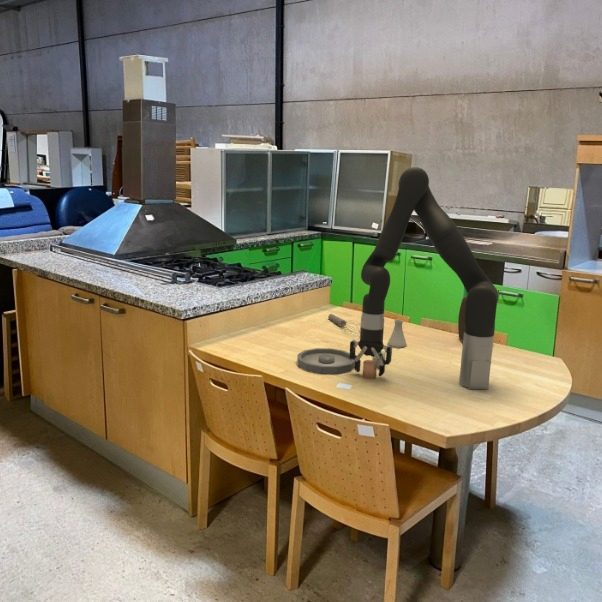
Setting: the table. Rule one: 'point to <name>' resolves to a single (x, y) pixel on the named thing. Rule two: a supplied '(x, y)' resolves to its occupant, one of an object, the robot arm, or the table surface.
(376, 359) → the pale green rounded cylinder
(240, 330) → the table surface
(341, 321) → the kitchen whisk
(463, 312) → the small grey backpack
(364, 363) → the terracotta bead
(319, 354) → the ring tray
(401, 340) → the flask
